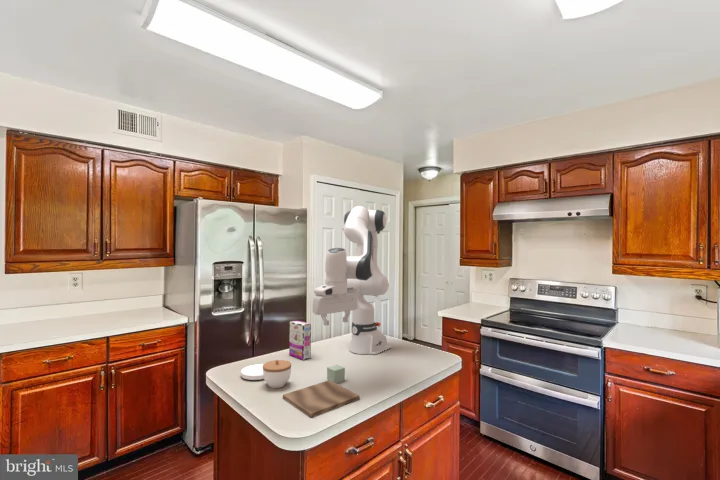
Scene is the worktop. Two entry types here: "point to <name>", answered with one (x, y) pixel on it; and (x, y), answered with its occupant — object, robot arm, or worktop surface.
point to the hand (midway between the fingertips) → (335, 323)
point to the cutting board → (320, 398)
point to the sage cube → (336, 373)
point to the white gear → (253, 372)
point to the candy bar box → (300, 340)
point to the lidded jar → (276, 373)
